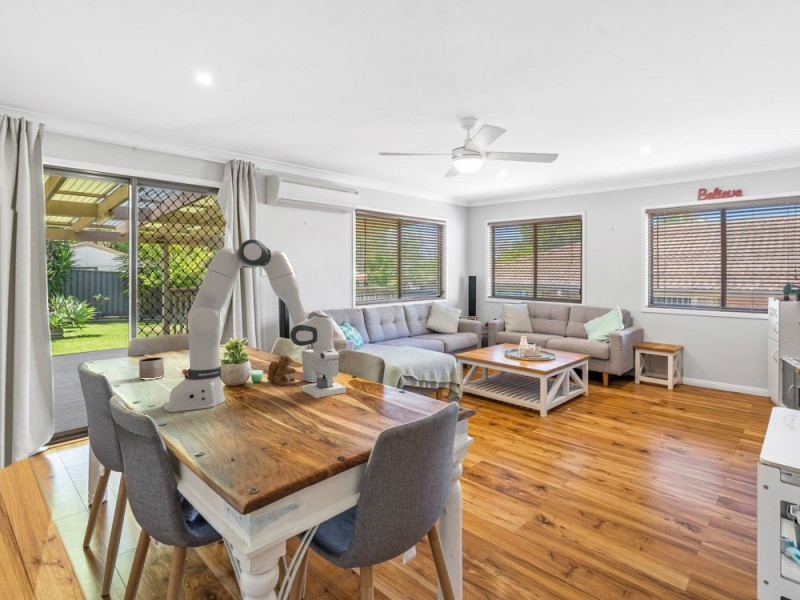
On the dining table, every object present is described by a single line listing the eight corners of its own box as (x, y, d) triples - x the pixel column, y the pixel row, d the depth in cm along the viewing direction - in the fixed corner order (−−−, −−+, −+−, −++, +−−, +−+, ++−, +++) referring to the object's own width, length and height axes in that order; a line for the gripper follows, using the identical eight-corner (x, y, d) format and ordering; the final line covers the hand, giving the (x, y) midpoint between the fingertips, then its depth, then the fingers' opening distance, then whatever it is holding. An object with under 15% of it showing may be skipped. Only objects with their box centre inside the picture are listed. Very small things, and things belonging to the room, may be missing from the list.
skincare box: (322, 381, 212) (321, 350, 211) (311, 383, 208) (310, 352, 207) (312, 378, 218) (312, 348, 217) (302, 380, 214) (301, 349, 213)
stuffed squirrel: (288, 386, 204) (287, 357, 203) (261, 384, 208) (260, 356, 207) (298, 380, 214) (298, 353, 213) (273, 379, 218) (272, 352, 217)
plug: (321, 394, 190) (321, 375, 189) (316, 391, 194) (316, 373, 193) (332, 392, 192) (331, 374, 192) (327, 389, 196) (326, 372, 196)
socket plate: (316, 398, 183) (316, 390, 183) (302, 391, 195) (302, 383, 195) (346, 392, 191) (346, 385, 191) (331, 386, 203) (331, 379, 203)
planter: (134, 380, 219) (133, 360, 219) (152, 375, 230) (151, 356, 229) (151, 381, 216) (150, 361, 215) (169, 376, 226) (168, 357, 226)
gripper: (307, 349, 199) (307, 380, 199) (327, 356, 182) (327, 389, 183) (320, 348, 202) (320, 378, 203) (340, 354, 186) (341, 387, 186)
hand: (324, 383), depth 193 cm, fingers open, 8 cm apart
